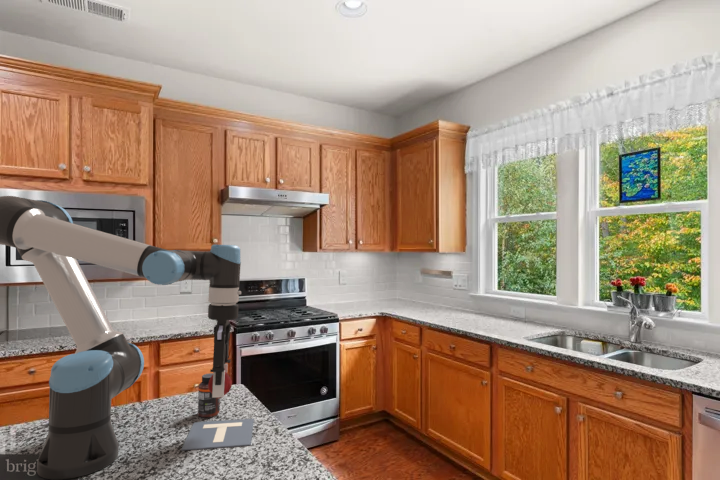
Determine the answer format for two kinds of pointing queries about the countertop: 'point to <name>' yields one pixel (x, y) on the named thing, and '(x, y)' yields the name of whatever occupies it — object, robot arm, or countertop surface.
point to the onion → (226, 384)
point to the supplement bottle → (207, 399)
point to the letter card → (219, 434)
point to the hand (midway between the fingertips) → (219, 392)
